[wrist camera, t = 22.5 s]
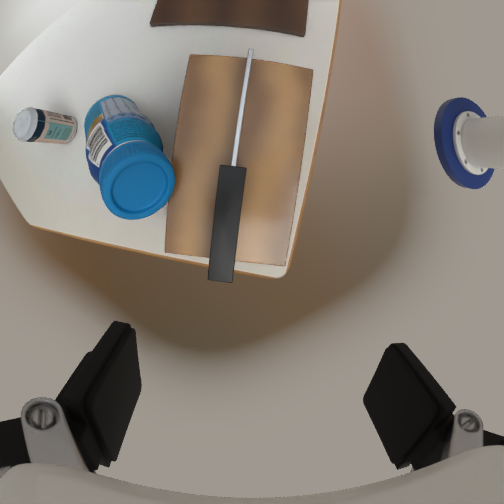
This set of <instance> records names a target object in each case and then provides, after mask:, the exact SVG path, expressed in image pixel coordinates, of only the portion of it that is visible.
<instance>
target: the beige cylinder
mask: <svg viewBox="0 0 504 504" xmlns="http://www.w3.org/2000/svg"><path fill="white" fill-rule="evenodd" d="M76 128H77V124H76V121H75V119H74V118H73V117H71V116H66V115H62V114H58V113H53V112H49V111H44V110H40V109H35V108H33V107H29V108H26V109H24V110H22V111H21V112H20V113H19V114H17V116H16V119H15V121H14V123H13V133H14V135H15V137H16V138H17V139H18V140H19V141H21V142H44V143H59V144H66V143H68V142H70V141H71V140H72V138H73V137H74V135H75V133H76Z"/></svg>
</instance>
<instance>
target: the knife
mask: <svg viewBox="0 0 504 504" xmlns="http://www.w3.org/2000/svg"><path fill="white" fill-rule="evenodd" d="M253 50H254V49H249V51H248V57H247V63H246V69H245V75H244V81H243V87H242V94H241V100H240V107H239V113H238V120H237V127H236V134H235V141H234V148H233V155H232V163H231V166H227V165H220V168H219V176H218V184H217V192H216V201H215V210H214V219H213V228H212V238H211V248H210V259H209V270H208V280H212V281H220V282H229V283H232V281H233V273H234V265H235V256H236V248H237V240H238V232H239V224H240V216H241V209H242V201H243V193H244V186H245V178H246V171H247V168H244V167H236V165H237V158H238V150H239V143H240V136H241V129H242V122H243V115H244V109H245V102H246V95H247V89H248V83H249V76H250V70H251V64H252V58H253Z"/></svg>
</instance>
